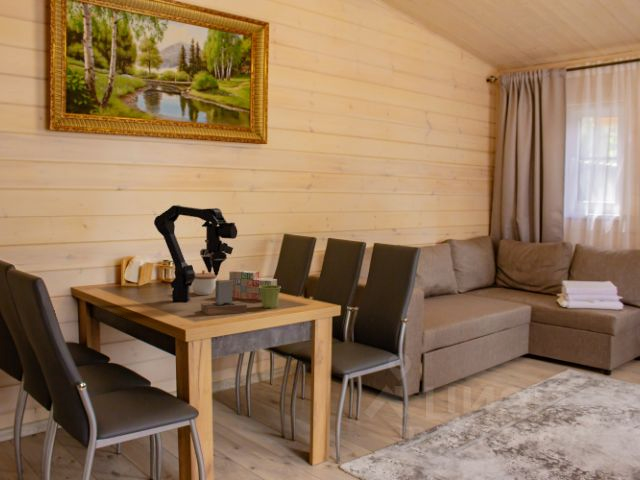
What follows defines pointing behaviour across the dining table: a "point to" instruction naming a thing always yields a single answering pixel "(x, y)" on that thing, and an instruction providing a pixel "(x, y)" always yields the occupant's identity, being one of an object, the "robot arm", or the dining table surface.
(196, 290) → the lidded bowl
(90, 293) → the dining table surface
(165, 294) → the dining table surface
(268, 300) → the plant pot
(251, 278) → the stack of blocks
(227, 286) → the grey tall block
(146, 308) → the dining table surface
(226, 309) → the brown holed block
